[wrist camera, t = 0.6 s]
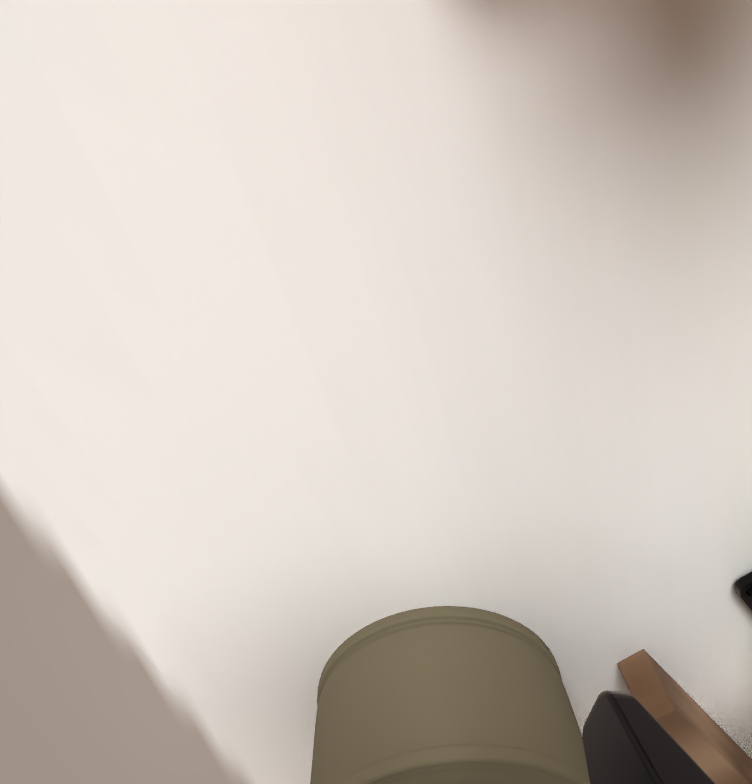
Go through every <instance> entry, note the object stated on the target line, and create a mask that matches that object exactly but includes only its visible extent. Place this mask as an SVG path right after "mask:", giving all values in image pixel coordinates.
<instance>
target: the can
mask: <svg viewBox="0 0 752 784" xmlns="http://www.w3.org/2000/svg"><path fill="white" fill-rule="evenodd" d="M317 706H318V707H317V716H316V725H315V737H314V749H313V761H312V772H311V783H310V784H590V781H589V775H588V769H587V764H586V758H585V752H584V747H583V737H582V734H581V732H580V729H579V726H578V723H577V720H576V718H575V715H574V712H573V709H572V706H571V704H570V701H569V698H568V696H567V693H566V690H565V688H564V685H563V683H562V679H561V675H560V671H559V668H558V666H557V663H556V661H555V659H554V656H553V655H552V653H551V651H550V650H549V648H548V647H547V646H546V644H545V643H544V642H543V641H542V640H541V639H540V638H539V637H538V636H537V635H536V634H535V633H533V632H532V631H531V630H530V629H528V628H527V627H525V626H523V625H522V624H520V623H518V622H516V621H514V620H512V619H510V618H508V617H505V616H502V615H500V614H497V613H493V612H490V611H486V610H481V609H476V608H468V607H456V606H439V607H427V608H420V609H414V610H409V611H405V612H401V613H397V614H394V615H391V616H388V617H386V618H383V619H381V620H378V621H376V622H374V623H372V624H370V625H368V626H366V627H364V628H363V629H361V630H359V631H358V632H356V633H355V634H354V635H352V636H351V637H350V638H348V639H347V640H346V641H345V642H344V643H343V644H342V645H340V646H339V647H338V649H337V650H336V651H335V652H334V653H333V654H332V656H331V657H330V659H329V660H328V662H327V664H326V665H325V667H324V669H323V672H322V675H321V677H320V681H319V686H318V697H317Z"/></svg>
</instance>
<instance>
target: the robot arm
mask: <svg viewBox="0 0 752 784" xmlns="http://www.w3.org/2000/svg"><path fill="white" fill-rule="evenodd" d="M735 590H736V591H737V593H738V594H739V595H740V597H741V598H742V599H743V600H744V601H745V603H746V604H747V605H748V606H749V608H750V609H751V610H752V572H751V573H749V574H747V575H746V576H744V577H742V578H740V579H739V580H738V581H737V582H736V584H735ZM582 736H583V747H584V752H585V758H586V764H587V769H588V775H589V781H590V784H715V783H714V782H713V781H712V780H711V779H710V778H709V776H708V775H707V774H706V773H705V772H704V771H703V770H702V769H701V768H700V767H699V766H698V765H697V764H696V762H695V761H694V760H693V759H692V758H691V757H690V756H689V755H688V754H687V753H686V752H685V751H684V749H683V748H682V747H681V746H680V745H679V744H678V743H677V742H676V741H675V740H674V739H673V738H672V737H671V735H670V734H669V733H668V732H667V731H666V730H665V729H664V728H663V727H662V726H661V725H660V724H659V723H658V721H657V720H656V719H655V718H654V717H653V716H652V715H651V714H650V713H649V712H648V711H647V710H646V708H645V707H644V706H643V705H642V704H641V703H640V702H639V701H638V700H637V699H636V698H635V697H634V696H632V695H631V694H629V693H625V692H616V691H603V692H602V693H600V695H599V696H598V698H597V700H596V702H595V704H594V706H593V708H592V710H591V712H590V714H589V716H588V718H587V720H586V722H585V724H584V728H583V735H582Z"/></svg>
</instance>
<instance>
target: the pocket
mask: <svg viewBox="0 0 752 784" xmlns="http://www.w3.org/2000/svg"><path fill="white" fill-rule="evenodd" d="M618 666H619V668H620V670H621V673H622V675H623V677H624V679H625V681H626V684H627V686H628V688H629V690H630V692H631V695H632V696H634V697H635V698H636V699H637V700H638V701H639V702H640V703H641V704H642V705H643V706H644V707H645V708H646V710H647V711H648V712H649V713H650V714H651V715H652V716H653V717H654V718H655V719H656V720H657V721H658V723H659V724H660V725H661V726H662V727H663V728H664V729H665V730H666V731H667V732H668V733H669V734H670V735H671V737H672V738H673V739H674V740H675V741H676V742H677V743H678V744H679V745H680V746H681V747H682V748H683V749H684V751H685V752H686V753H687V754H688V755H689V756H690V757H691V758H692V759H693V760H694V761H695V762H696V764H697V765H698V766H699V767H700V768H701V769H702V770H703V771H704V772H705V773H706V774H707V775H708V776H709V778H710V779H711V780H712V781H713V782H714V783H715V784H752V759H751V758H750V757H749V756H748V755H747V754H746V753H745V752H744V751H743V750H742V749H741V748H740V747H739V746H738V745H737V744H736V743H735V742H734V741H733V740H732V739H731V738H730V737H729V736H728V735H727V734H726V733H725V732H724V731H723V730H722V729H721V728H720V727H719V726H718V725H717V724H716V723H715V722H714V721H713V720H712V719H711V717H710V716H709V715H708V714H707V713H706V712H705V711H704V710H703V709H702V708H701V707H700V706H699V705H698V704H697V703H696V702H695V701H694V700H693V699H692V698H691V697H690V696H689V695H688V694H687V693H686V692H685V691H684V690H683V689H682V688H681V687H680V686H679V685H678V684H677V683H676V682H675V681H674V680H673V679H672V678H671V677H670V676H669V675H668V674H667V673H666V672H665V671H664V670H663V669H662V668H661V666H660V665H659V664H658V663H657V662H656V661H655V660H654V659H653V658H652V657H651V656H650V655H649V654H648V653H647V652H646V651H645V650H644V649H643V650H641V651H640V652H638V653H636V654H634V655H632V656H630V657H629V658H627V659H625V660H623V661H621V662H619V663H618Z"/></svg>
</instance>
